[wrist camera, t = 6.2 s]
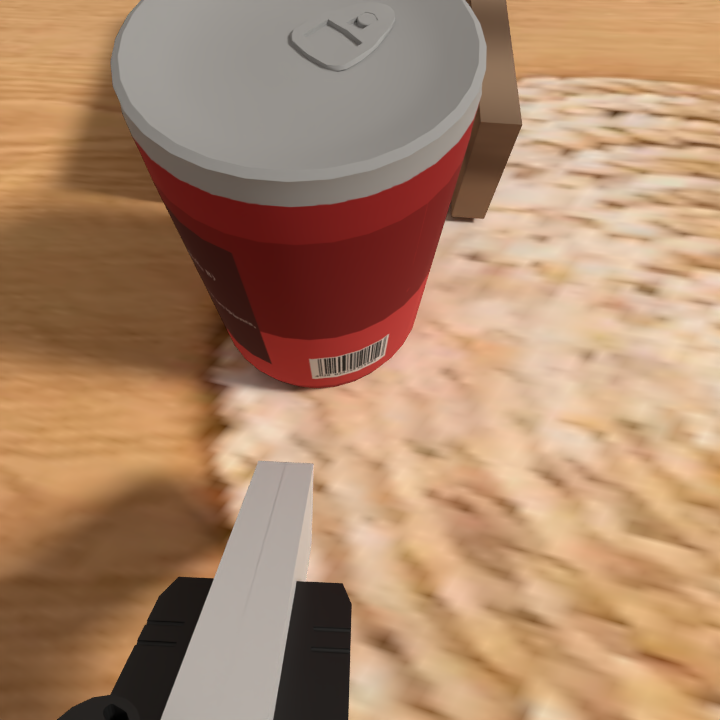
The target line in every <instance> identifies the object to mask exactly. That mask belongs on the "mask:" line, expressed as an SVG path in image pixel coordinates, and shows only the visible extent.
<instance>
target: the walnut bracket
mask: <svg viewBox="0 0 720 720" xmlns="http://www.w3.org/2000/svg"><path fill="white" fill-rule="evenodd" d="M465 1H466V2H467V3H468V4H469V6H470V7H471V9H472V11H473V12H474V14H475V16H476V17H477V19H478V21H479V22H480V24H481V28H482V31H483V35H484V38H485V42H486V46H487V50H486V71H485V75H484V78H483V82H482V96H481V99H480V102H479V106H478V109H477V113H476V116H475V119H474V123H473V126H472V131H471V136H470V140H469V143H468V146H467V149H466V153H465V156H464V159H463V163H462V166H461V169H460V173H459V176H458V179H457V182H456V186H455V189H454V192H453V196H452V199H451V217H465V218H481V219H484V217H485V215H486V212H487V210H488V208H489V205H490V203H491V200H492V198H493V195H494V193H495V190H496V188H497V185H498V183H499V180H500V178H501V176H502V173H503V171H504V168H505V166H506V163H507V161H508V158H509V156H510V153H511V151H512V148H513V146H514V144H515V141H516V139H517V136H518V134H519V131H520V129H521V126H522V120H521V112H520V104H519V97H518V89H517V81H516V74H515V66H514V59H513V51H512V43H511V36H510V28H509V21H508V13H507V5H506V0H465Z"/></svg>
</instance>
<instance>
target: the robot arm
mask: <svg viewBox="0 0 720 720" xmlns="http://www.w3.org/2000/svg"><path fill="white" fill-rule="evenodd" d="M313 466H314V464H311V463H292V462H273V461H258V464H257V466H256V469H255V472H254V474H253V477H252V480H251V482H250V485H249V487H248V490H247V493H246V495H245V498H244V501H243V503H242V506H241V509H240V511H239V514H238V517H237V519H236V522H235V524H234V527H233V530H232V532H231V535H230V538H229V540H228V543H227V546H226V548H225V551H224V554H223V556H222V559H221V561H220V564H219V567H218V569H217V572H216V575H215V577H214V579H213V578H192V577H178V578H177V579H176V580H175V581H174V582H173V583H172V584H171V585H170V586H169V587H168V588H167V589H166V590H165V591H164V592H163V593H162V594H161V595H160V596H159V597H158V600H157V602H156V604H155V606H154V608H153V610H152V612H151V614H150V616H149V618H148V620H147V624H146V625H145V626H144V628H143V630H142V632H141V634H140V636H139V638H138V640H137V645H135V646H134V648H133V650H132V652H131V654H130V656H129V658H128V660H127V662H126V664H125V666H124V668H123V670H122V672H121V674H120V676H119V678H118V680H117V682H116V684H115V686H114V688H113V690H112V692H111V694H110V695H107V696H100V697H93V698H91V699H89V700H87V701H84V702H82V703H80V704H78V705H76V706H74V707H72V708H71V709H70V710H68V711H67V712H66V713H65V714H63V715H62V716H61V717H60V718H58V719H57V720H348V709H349V675H350V641H351V607H352V604H351V602H350V599H349V597H348V595H347V593H346V590H345V588H344V586H343V583H323V582H306V578H307V571H308V564H309V557H310V551H311V544H312V507H313Z"/></svg>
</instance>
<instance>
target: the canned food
mask: <svg viewBox="0 0 720 720" xmlns="http://www.w3.org/2000/svg"><path fill="white" fill-rule="evenodd" d="M486 50H487V46H486V42H485V38H484V35H483V31H482V28H481V24H480V22H479V21H478V19H477V17H476V16H475V14H474V12H473V11H472V9H471V7H470V6H469V4H468V3H467V2H466V1H465V0H141V1H140V2H139V3H138V4H137V5H136V7H135V8H134V9H133V10H132V11H131V12H130V13H129V14H128V16H127V18H126V19H125V21H124V23H123V25H122V27H121V29H120V31H119V33H118V34H117V36H116V39H115V43H114V48H113V53H112V57H111V72H112V82H113V88H114V90H115V92H116V94H117V97H118V99H119V101H120V104H121V110H122V114H123V116H124V119H125V121H126V123H127V125H128V128H129V130H130V132H131V134H132V137H133V139H134V141H135V143H136V145H137V147H138V149H139V151H140V153H141V155H142V158H143V160H144V162H145V164H146V167H147V169H148V171H149V173H150V176H151V178H152V180H153V182H154V184H155V186H156V188H157V190H158V192H159V194H160V196H161V198H162V200H163V202H164V204H165V206H166V208H167V210H168V212H169V214H170V216H171V218H172V220H173V222H174V224H175V226H176V228H177V230H178V232H179V234H180V236H181V238H182V240H183V242H184V244H185V246H186V248H187V250H188V252H189V254H190V256H191V258H192V260H193V262H194V264H195V266H196V268H197V270H198V272H199V274H200V276H201V278H202V280H203V282H204V284H205V286H206V288H207V290H208V293H209V295H210V297H211V299H212V301H213V303H214V305H215V307H216V309H217V311H218V313H219V315H220V317H221V319H222V321H223V323H224V325H225V327H226V329H227V331H228V333H229V335H230V337H231V339H232V341H233V343H234V345H235V346H236V347H237V349H238V350H239V351H240V352H241V354H242V355H243V356H244V358H245V359H246V360H247V361H249V362H250V363H251V364H252V365H254V366H255V367H256V368H257V369H258V370H260V371H261V372H263V373H265V374H267V375H269V376H271V377H273V378H275V379H277V380H279V381H282V382H285V383H289V384H292V385H296V386H299V387H310V388H325V387H335V386H339V385H343V384H346V383H350V382H353V381H356V380H358V379H360V378H362V377H364V376H366V375H368V374H370V373H371V372H373V371H374V370H376V369H377V368H378V367H380V366H381V365H382V364H384V363H385V362H386V361H387V360H389V359H390V358H391V357H392V356H393V355H394V354H395V353H396V352H397V350H398V349H399V348H400V347H401V346H402V345H403V343H404V342H405V340H406V338H407V336H408V335H409V333H410V331H411V330H412V327H413V324H414V321H415V318H416V314H417V311H418V308H419V305H420V301H421V298H422V295H423V291H424V288H425V285H426V282H427V278H428V275H429V272H430V268H431V265H432V262H433V258H434V255H435V252H436V249H437V245H438V242H439V239H440V235H441V232H442V229H443V225H444V222H445V219H446V215H447V212H448V209H449V206H450V202H451V199H452V196H453V192H454V189H455V186H456V182H457V179H458V176H459V173H460V169H461V166H462V163H463V159H464V156H465V153H466V149H467V146H468V143H469V140H470V136H471V131H472V126H473V123H474V119H475V116H476V113H477V109H478V106H479V102H480V99H481V96H482V82H483V78H484V75H485V71H486Z"/></svg>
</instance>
